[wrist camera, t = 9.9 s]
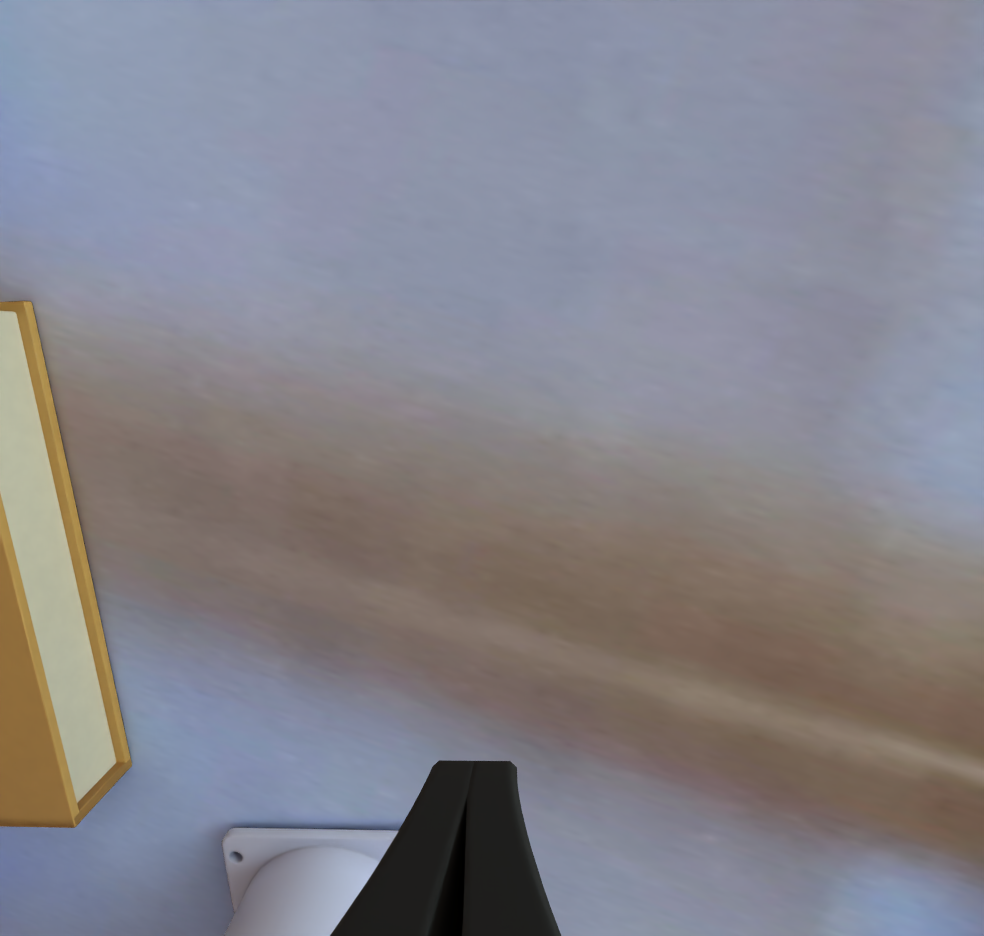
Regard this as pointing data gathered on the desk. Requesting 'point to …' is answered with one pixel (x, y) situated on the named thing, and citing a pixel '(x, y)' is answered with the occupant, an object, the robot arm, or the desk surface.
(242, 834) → the robot arm
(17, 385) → the book
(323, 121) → the desk surface
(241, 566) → the desk surface
